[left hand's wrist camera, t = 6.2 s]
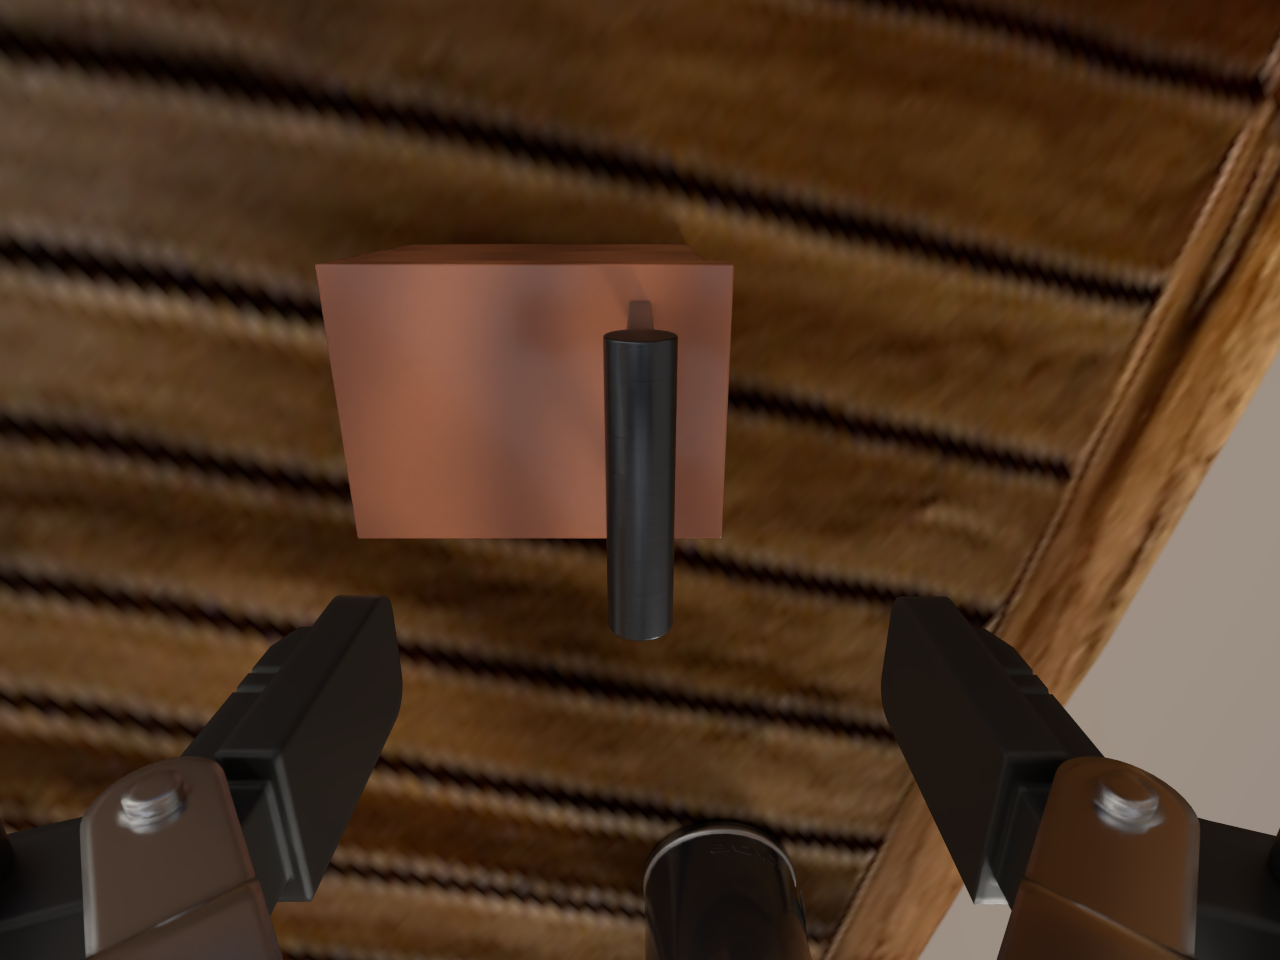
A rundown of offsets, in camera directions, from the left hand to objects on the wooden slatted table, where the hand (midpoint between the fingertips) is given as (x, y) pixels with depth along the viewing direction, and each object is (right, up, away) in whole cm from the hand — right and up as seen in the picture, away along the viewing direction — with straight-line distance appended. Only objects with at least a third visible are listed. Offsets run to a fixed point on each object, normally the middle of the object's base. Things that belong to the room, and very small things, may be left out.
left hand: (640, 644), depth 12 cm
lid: (-4, +5, +14) cm, 15 cm away
